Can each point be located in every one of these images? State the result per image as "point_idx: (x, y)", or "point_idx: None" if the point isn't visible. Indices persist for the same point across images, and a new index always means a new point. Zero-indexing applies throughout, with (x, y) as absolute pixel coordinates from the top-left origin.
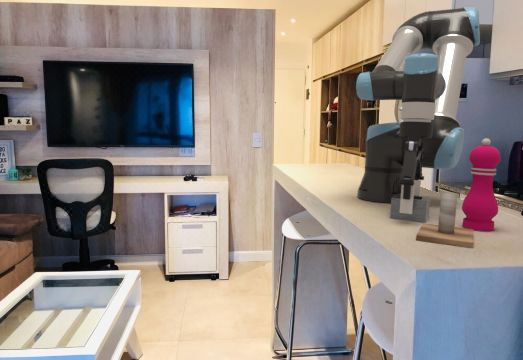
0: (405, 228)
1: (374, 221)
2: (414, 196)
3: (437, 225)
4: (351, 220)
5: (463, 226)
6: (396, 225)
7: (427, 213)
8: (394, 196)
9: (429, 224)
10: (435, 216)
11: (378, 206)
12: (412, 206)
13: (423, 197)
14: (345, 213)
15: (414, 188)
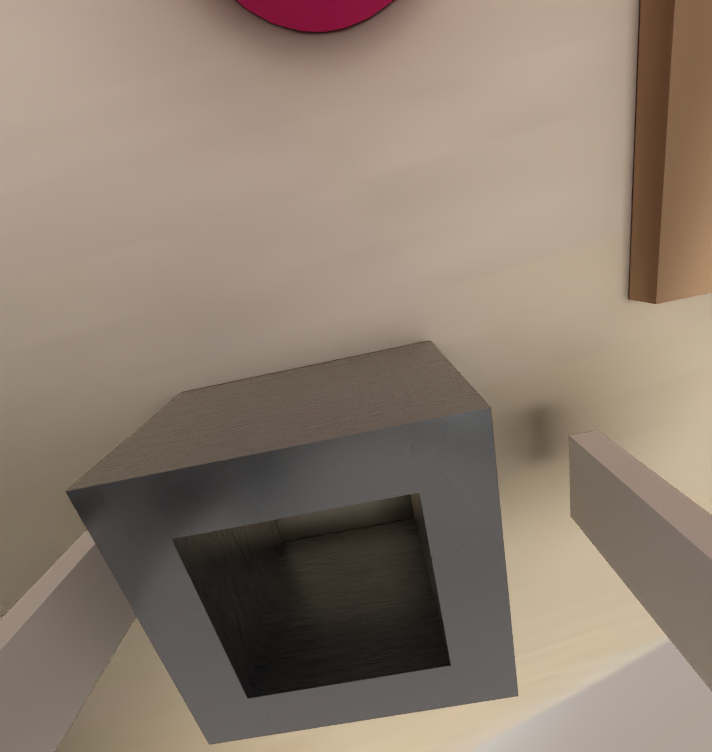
0: (708, 379)
1: (605, 567)
2: (208, 605)
3: (685, 176)
4: (650, 643)
5: (382, 7)
6: (646, 448)
7: (280, 385)
8: (409, 705)
9: (676, 246)
10: (129, 352)
11: (154, 694)
12: (638, 468)
13: (214, 521)
14: (493, 716)
15: (7, 732)
